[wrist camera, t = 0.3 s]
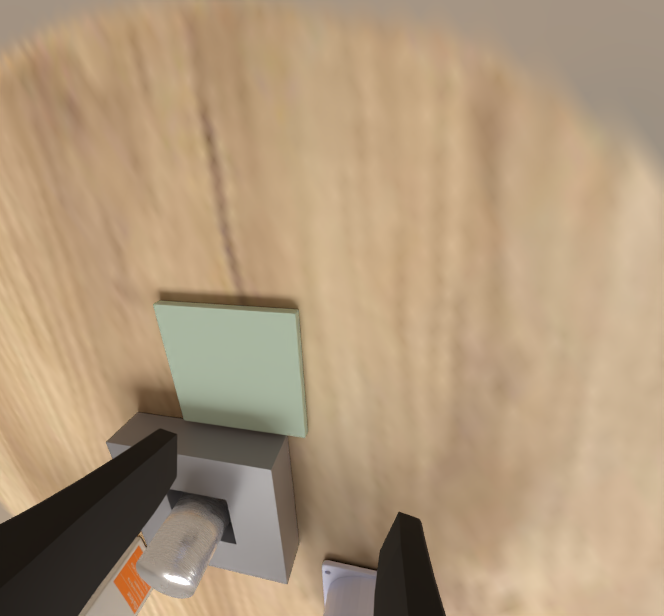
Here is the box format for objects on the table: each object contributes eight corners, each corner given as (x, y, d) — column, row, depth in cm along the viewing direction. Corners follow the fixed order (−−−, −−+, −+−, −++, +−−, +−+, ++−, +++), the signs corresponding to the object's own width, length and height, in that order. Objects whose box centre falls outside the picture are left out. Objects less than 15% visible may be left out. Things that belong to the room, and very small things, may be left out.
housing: (299, 543, 28) (287, 584, 25) (172, 516, 31) (149, 551, 28) (287, 433, 23) (270, 470, 21) (137, 412, 26) (105, 442, 23)
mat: (307, 431, 23) (305, 437, 22) (188, 414, 25) (184, 420, 24) (298, 309, 19) (295, 313, 18) (159, 300, 21) (153, 304, 20)
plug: (248, 502, 27) (200, 604, 21) (204, 493, 28) (145, 589, 22) (241, 466, 26) (187, 565, 19) (195, 458, 26) (128, 551, 20)
